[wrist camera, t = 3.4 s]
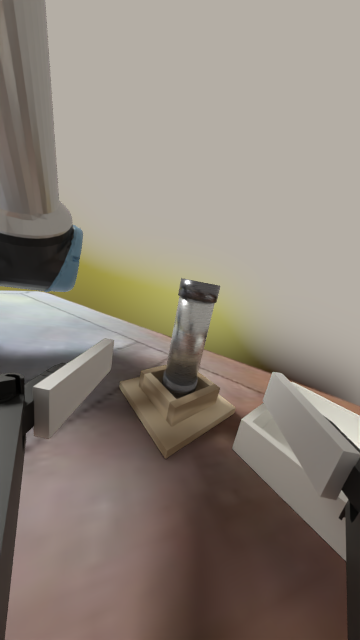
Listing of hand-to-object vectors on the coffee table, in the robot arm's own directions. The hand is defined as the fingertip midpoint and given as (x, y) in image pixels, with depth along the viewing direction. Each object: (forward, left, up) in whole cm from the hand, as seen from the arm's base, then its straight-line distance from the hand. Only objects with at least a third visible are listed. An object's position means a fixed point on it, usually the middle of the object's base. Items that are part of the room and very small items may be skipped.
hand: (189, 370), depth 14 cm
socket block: (-6, +6, -10) cm, 13 cm away
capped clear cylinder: (-6, +6, -9) cm, 13 cm away
